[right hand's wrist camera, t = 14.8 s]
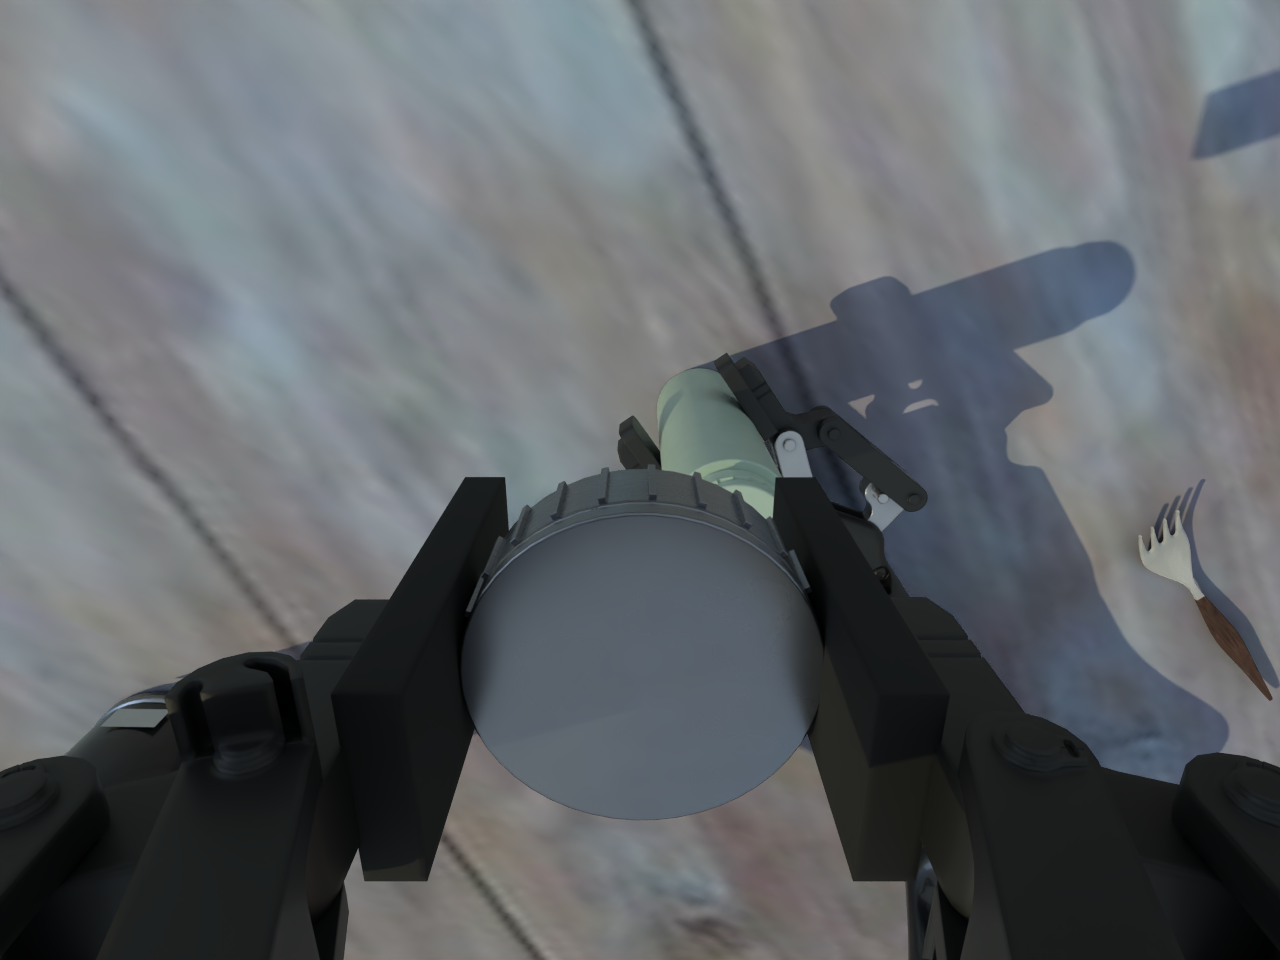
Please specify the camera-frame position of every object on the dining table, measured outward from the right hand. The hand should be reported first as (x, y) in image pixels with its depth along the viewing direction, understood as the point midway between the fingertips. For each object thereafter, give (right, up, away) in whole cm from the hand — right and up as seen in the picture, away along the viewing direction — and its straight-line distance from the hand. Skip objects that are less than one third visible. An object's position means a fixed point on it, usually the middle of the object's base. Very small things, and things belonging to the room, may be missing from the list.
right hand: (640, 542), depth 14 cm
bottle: (+3, +5, +24) cm, 24 cm away
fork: (+32, -6, +28) cm, 43 cm away
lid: (0, -1, -4) cm, 4 cm away
